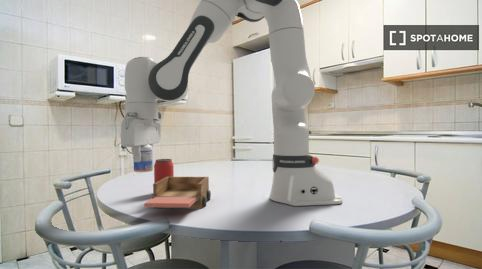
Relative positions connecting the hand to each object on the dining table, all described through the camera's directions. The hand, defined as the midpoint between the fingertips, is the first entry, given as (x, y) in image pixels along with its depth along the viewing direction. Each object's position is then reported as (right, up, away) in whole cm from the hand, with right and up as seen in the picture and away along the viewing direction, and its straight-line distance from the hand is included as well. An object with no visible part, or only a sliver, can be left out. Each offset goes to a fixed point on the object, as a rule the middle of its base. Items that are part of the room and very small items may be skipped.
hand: (143, 160), depth 82 cm
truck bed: (+11, -13, +4) cm, 18 cm away
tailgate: (+11, -11, -3) cm, 15 cm away
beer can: (+2, -13, +16) cm, 21 cm away
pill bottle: (0, -3, 0) cm, 3 cm away
